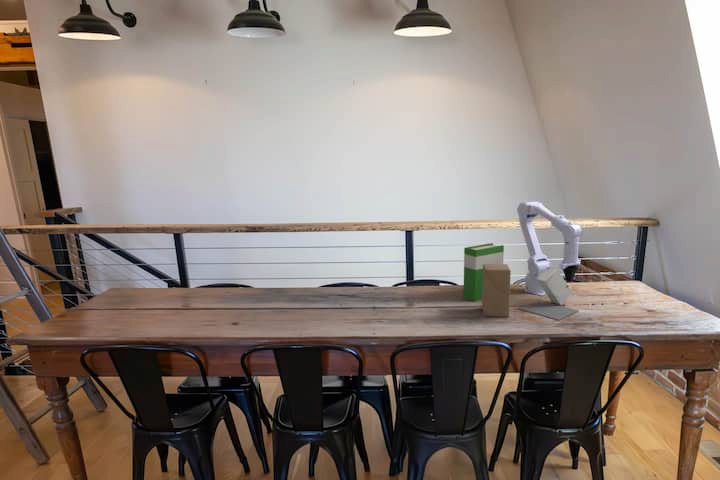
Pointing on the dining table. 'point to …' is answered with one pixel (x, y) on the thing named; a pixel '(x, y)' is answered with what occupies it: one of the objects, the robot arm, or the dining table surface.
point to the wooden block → (496, 290)
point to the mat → (549, 310)
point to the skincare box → (554, 285)
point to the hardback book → (479, 267)
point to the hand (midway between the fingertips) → (569, 281)
